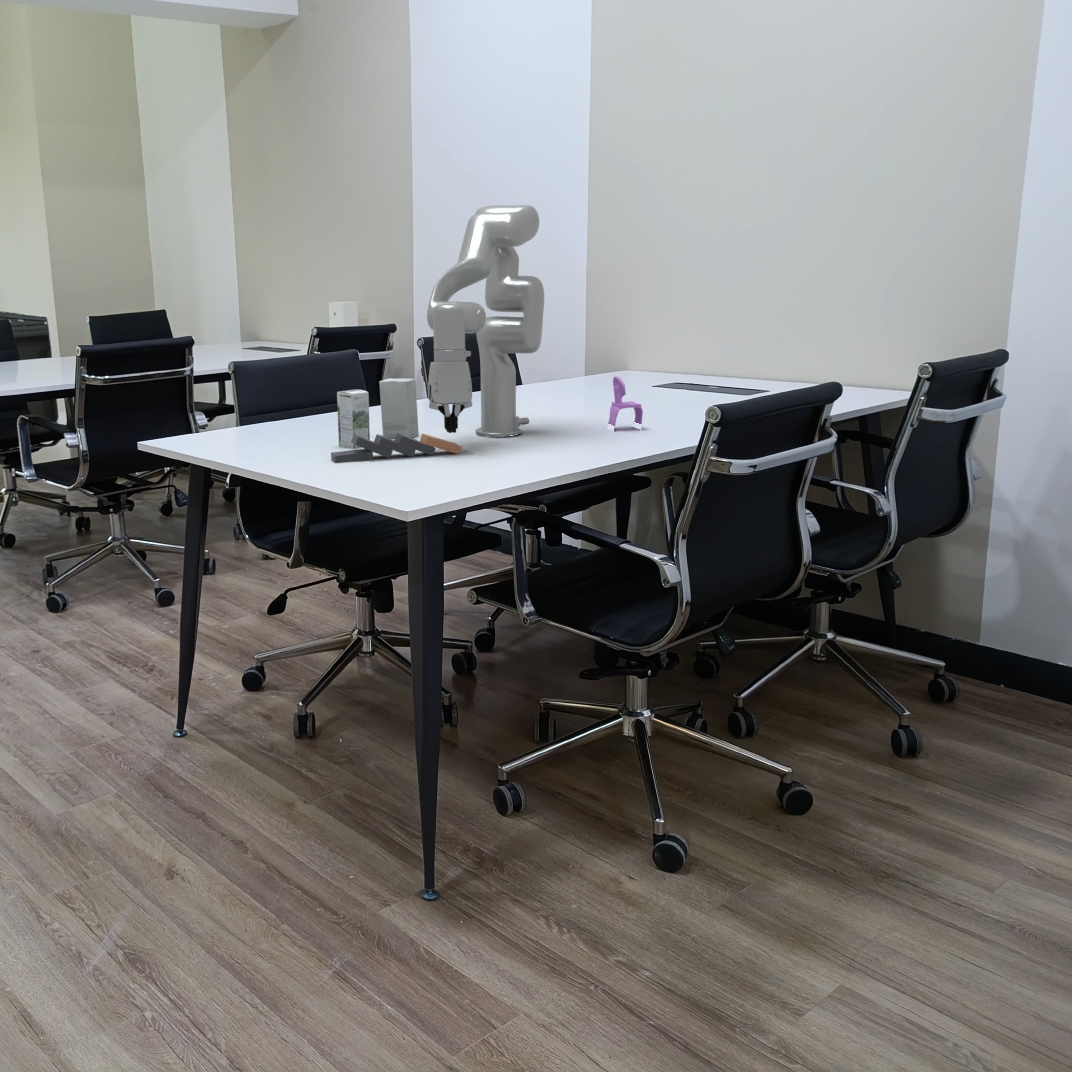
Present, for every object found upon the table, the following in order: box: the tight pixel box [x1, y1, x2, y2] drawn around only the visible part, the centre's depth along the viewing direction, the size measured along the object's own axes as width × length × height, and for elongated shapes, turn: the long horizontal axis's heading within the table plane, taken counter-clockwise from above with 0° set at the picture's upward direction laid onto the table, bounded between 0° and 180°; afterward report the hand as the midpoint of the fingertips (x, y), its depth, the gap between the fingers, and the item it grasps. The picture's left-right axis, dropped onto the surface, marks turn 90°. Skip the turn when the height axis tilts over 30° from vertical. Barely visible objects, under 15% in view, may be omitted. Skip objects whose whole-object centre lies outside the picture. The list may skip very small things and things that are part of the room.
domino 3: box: [373, 433, 417, 457], centre depth 252 cm, size 2×5×9 cm
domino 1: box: [330, 448, 374, 464], centre depth 249 cm, size 2×5×9 cm
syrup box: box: [336, 389, 371, 450], centre depth 266 cm, size 6×6×14 cm
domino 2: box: [351, 434, 394, 458], centre depth 250 cm, size 2×5×9 cm
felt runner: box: [369, 448, 475, 463], centre depth 255 cm, size 26×8×1 cm, turn 111°
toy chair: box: [607, 376, 644, 427], centre depth 294 cm, size 8×9×15 cm
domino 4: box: [393, 433, 437, 456], centre depth 254 cm, size 2×5×9 cm
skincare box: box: [378, 377, 419, 439], centre depth 281 cm, size 8×7×16 cm
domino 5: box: [419, 433, 463, 454], centre depth 256 cm, size 2×5×9 cm
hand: (451, 431), depth 257 cm, fingers closed
